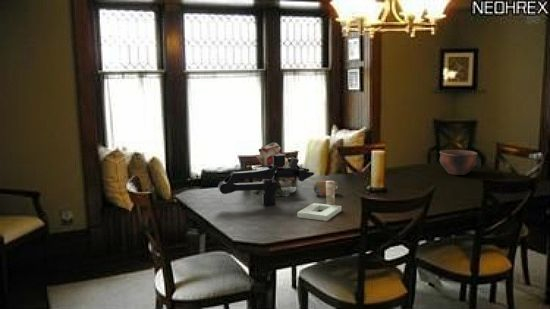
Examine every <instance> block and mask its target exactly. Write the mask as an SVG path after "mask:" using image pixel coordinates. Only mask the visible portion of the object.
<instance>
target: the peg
mask: <svg viewBox="0 0 550 309" xmlns="http://www.w3.org/2000/svg"><path fill="white" fill-rule="evenodd" d="M325 181H326V195H325V198H326V199H325V204H327V205H336V204H335V198H336V196H335V195H336V194H335V193H334V181H335V180H332V181H331V180H325Z"/></svg>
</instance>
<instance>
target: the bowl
mask: <svg viewBox="0 0 550 309" xmlns="http://www.w3.org/2000/svg"><path fill="white" fill-rule="evenodd" d="M439 154H440V157H439V162H440V165H441V166H442V168H444V169H445V171H446V172H447V173H448V174H449V175H454V176H464V175H467V174H468V173H470V172H471V171H472V169H474V167H475V166H476V165H477V158H478V152H477V151H472V150H465V149H464V150H462V149H445V150H444V149H443V150H440V151H439Z"/></svg>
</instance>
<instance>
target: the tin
mask: <svg viewBox="0 0 550 309" xmlns="http://www.w3.org/2000/svg"><path fill="white" fill-rule="evenodd" d="M326 181H327V180H325V181H324V180H323V181H322V180H321V181H317V182H315V184H314V185H313V191H314V193H315V194H316V195H317V196H319V197H320V196H322V197H324V196H326ZM330 181H334V193H335V195H336V194H337V193H338V192H339V190H340V186H339V183H338V182H337V181H336V180H330Z"/></svg>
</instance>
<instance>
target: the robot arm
mask: <svg viewBox="0 0 550 309" xmlns="http://www.w3.org/2000/svg"><path fill="white" fill-rule="evenodd" d="M285 158H286V154H284V153H281V154H276V155H273V164H271V165H270V166H268V167H267V166H265V167H263V168H260V169H256V170H245V171H231V173H230V174H229V175H228V176H227V177H226V178H224V179H223V181H220V182H219V183H218V185H217V188H218V190H219V192H220V193H221V194H223V195H228V194H232V193H234V192H241V191H242V192H244V191H246V192H247V191H251V190H262V192H263V193H262V196H261V197H262V198H261V199H262V200H261V201H262V202H261V205H262V206H264V207H270V206H276V196H274V194H275V191H276V190H277V188H278V185H277V183H276V182H277V178H287V179H289V178H295V179H297V180H298V181H299V182H304V181H305V180H306V179H308V178H310V177H312V176H314V175H315V172H312V171H310V169H309V168H306V167H300V166H299V165H298V163H299V162H300V161H299V159H298V158H296V157H294V156H291V157H288V158H287V159H288V160H287V161H288V162H289V166H286V168H277V167H283V166H284V165H285ZM273 176H274V177H273ZM248 179H250V180H251V179H262V181H258V183H256V182H237V180H248ZM272 179H274V180H275V181H276V182H274V181H273V180H272ZM236 182H237V183H236Z"/></svg>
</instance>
